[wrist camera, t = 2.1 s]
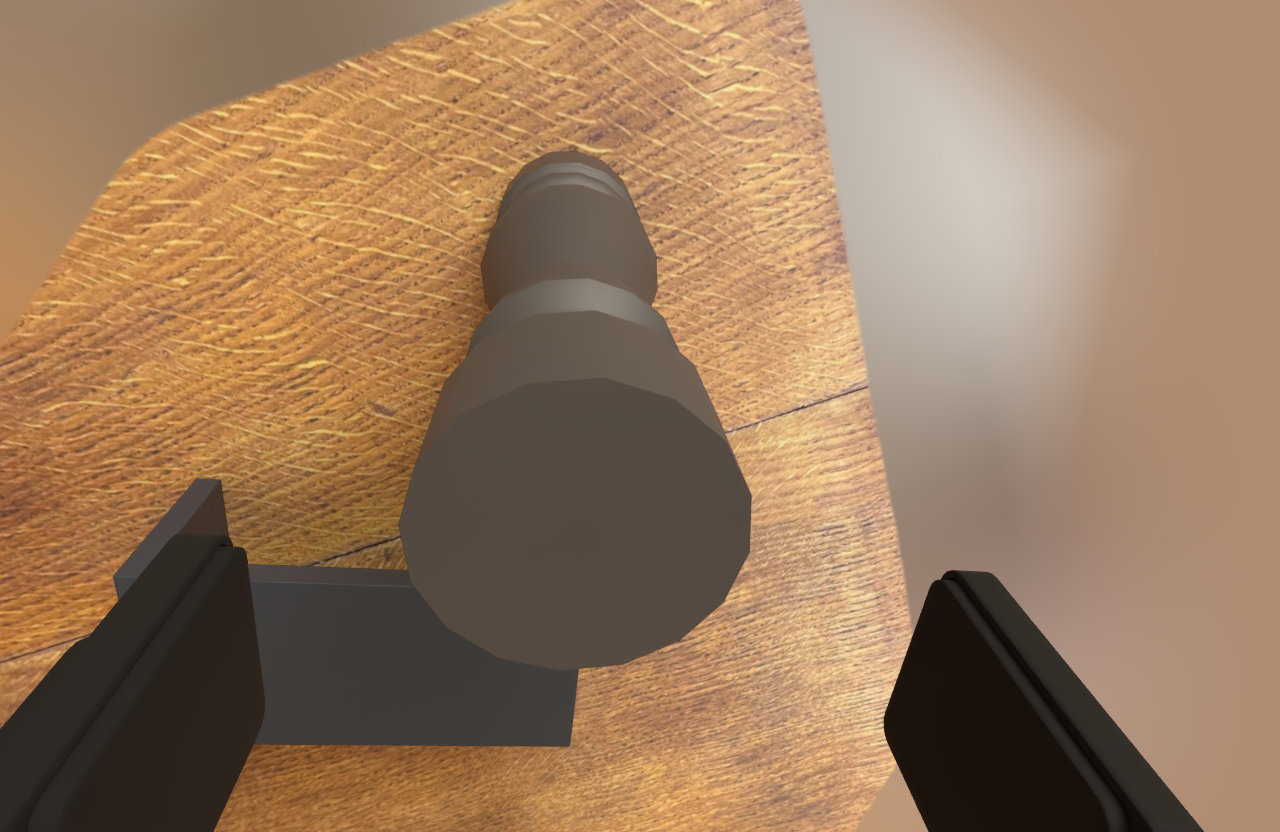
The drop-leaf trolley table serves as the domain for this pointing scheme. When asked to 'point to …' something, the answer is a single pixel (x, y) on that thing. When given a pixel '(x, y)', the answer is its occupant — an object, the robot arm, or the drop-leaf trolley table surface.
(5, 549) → the drop-leaf trolley table surface
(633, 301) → the candle holder
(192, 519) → the shelf
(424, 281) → the drop-leaf trolley table surface
